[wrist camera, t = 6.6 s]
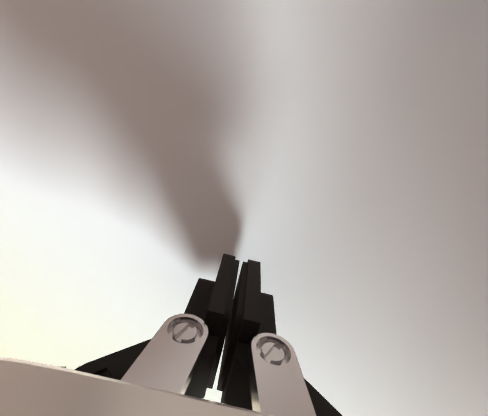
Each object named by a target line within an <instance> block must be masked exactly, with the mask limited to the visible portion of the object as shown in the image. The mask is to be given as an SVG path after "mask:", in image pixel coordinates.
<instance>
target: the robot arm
mask: <svg viewBox="0 0 488 416" xmlns="http://www.w3.org/2000/svg"><path fill="white" fill-rule="evenodd" d="M238 267H239V261H238V260H235V256H231V255H227V254H224V255H223V258H222V261H221V265H220V268H219V271H218V275H217V278H216V281H215V282H214V281H210V280H206V279H201V278H199V279H198V282H197V284H196V286H195V289H194V291H193V294H192V296H191V298H190V301H189V303H188V305H187V308H186V310H185V312H184V314H178V315H174V316H172V317H170V318H168V319H167V320H166V321H165V322H164V324H163V325H162V326H161V327H160V329H159V330H158V331H157V333H156V334H155V335H154V337H153V338H152V339H150V340H147V341H144V342H142V343H139V344H136V345H134V346H131V347H128V348H126V349H123V350H120V351H118V352H115V353H112V354H110V355H107V356H104V357H102V358H99V359H96V360H94V361H91V362H88V363H86V364H84V365H82V366H80V367H78V368H77V369H75V370H71V369H67V368H66V367H57V366H52V365H46V364H41V363H35V362H30V361H24V360H19V359H11V358H2V357H0V416H342V415H341V414H340V413H339V412H338V411H337V410H336V409H335V408H334V407H333V406H332V405H331V404H330V403H329V402H328V401H327V400H326V399H325V398H324V397H323V396H322V395H321V394H320V393H319V392H318V391H317V390H316V389H315V388H314V387H313V386H312V385H311V384H310V383H309V382H307V381H306V380H305V379H304V377H303V374H302V371H301V368H300V365H299V363H298V360H297V357H296V354H295V351H294V349H293V347H292V346H291V345H290V344H289V342H288V341H286V340H285V339H284V338H282V337H280V336H278V335H276V325H275V313H274V301H273V296H272V295H269V294H265V293H261V275H260V262H257V261H252V260H248V262H243V264H242V267H241V271H240V275H239V279H238V283H237V287H236V291H235V285H236V279H237V273H238ZM234 292H235V295H234ZM233 298H234V299H233ZM225 336H226V338H225ZM224 340H225V344H224ZM223 344H224V350H223V356H222V362H221V368H220V374H219V380H218V386H217V390H219V391H222V398H221V403H218V402H214V401H209V400H205V399H201V398H204V396H205V392H206V388H211V389H212V387H213V384H214V380H215V376H216V372H217V368H218V364H219V360H220V356H221V352H222V348H223ZM222 403H224V404H222Z"/></svg>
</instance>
